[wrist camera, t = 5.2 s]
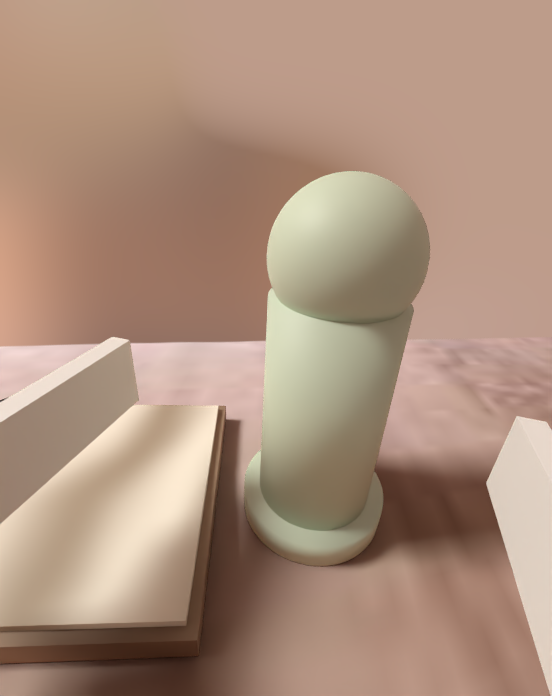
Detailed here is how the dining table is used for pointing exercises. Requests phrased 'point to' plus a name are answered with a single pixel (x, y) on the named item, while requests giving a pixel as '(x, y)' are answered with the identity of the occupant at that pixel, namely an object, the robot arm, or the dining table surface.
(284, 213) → the pawn
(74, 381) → the robot arm
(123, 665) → the dining table surface
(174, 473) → the board
